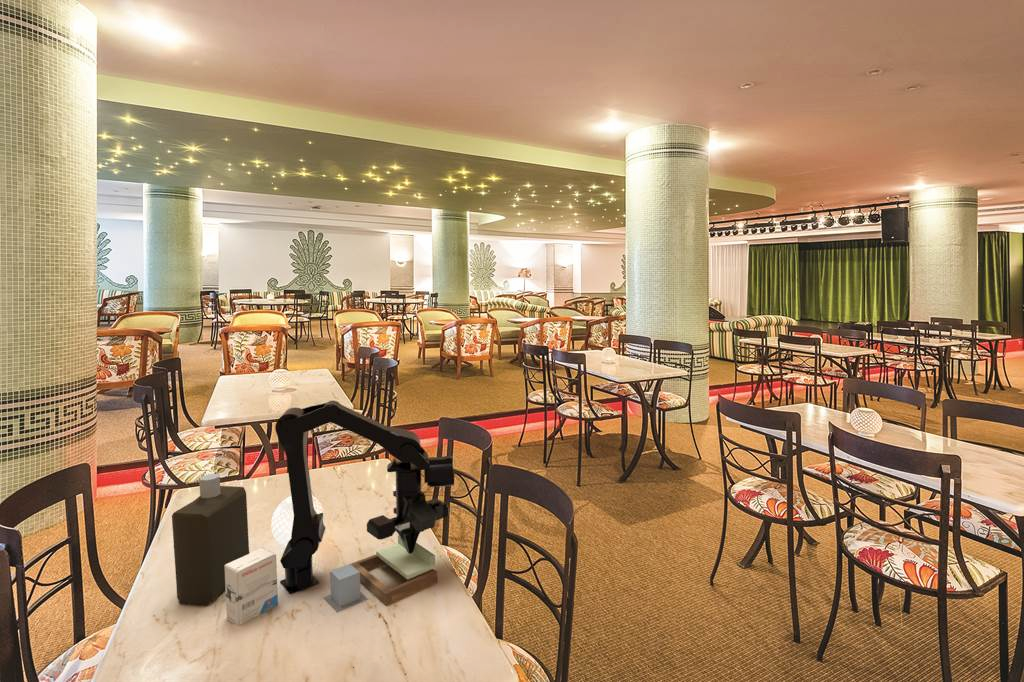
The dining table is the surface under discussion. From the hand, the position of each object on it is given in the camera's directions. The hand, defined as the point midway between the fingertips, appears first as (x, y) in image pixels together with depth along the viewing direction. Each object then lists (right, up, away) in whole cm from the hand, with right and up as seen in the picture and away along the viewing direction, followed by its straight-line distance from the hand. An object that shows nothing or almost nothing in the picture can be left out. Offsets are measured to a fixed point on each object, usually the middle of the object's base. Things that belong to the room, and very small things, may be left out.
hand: (409, 552), depth 125 cm
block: (-12, -6, -10) cm, 16 cm away
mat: (-12, -6, -10) cm, 17 cm away
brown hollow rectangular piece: (-3, -5, -2) cm, 7 cm away
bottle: (-42, -6, -5) cm, 43 cm away
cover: (-1, -2, -1) cm, 2 cm away
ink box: (-29, -7, -14) cm, 33 cm away
